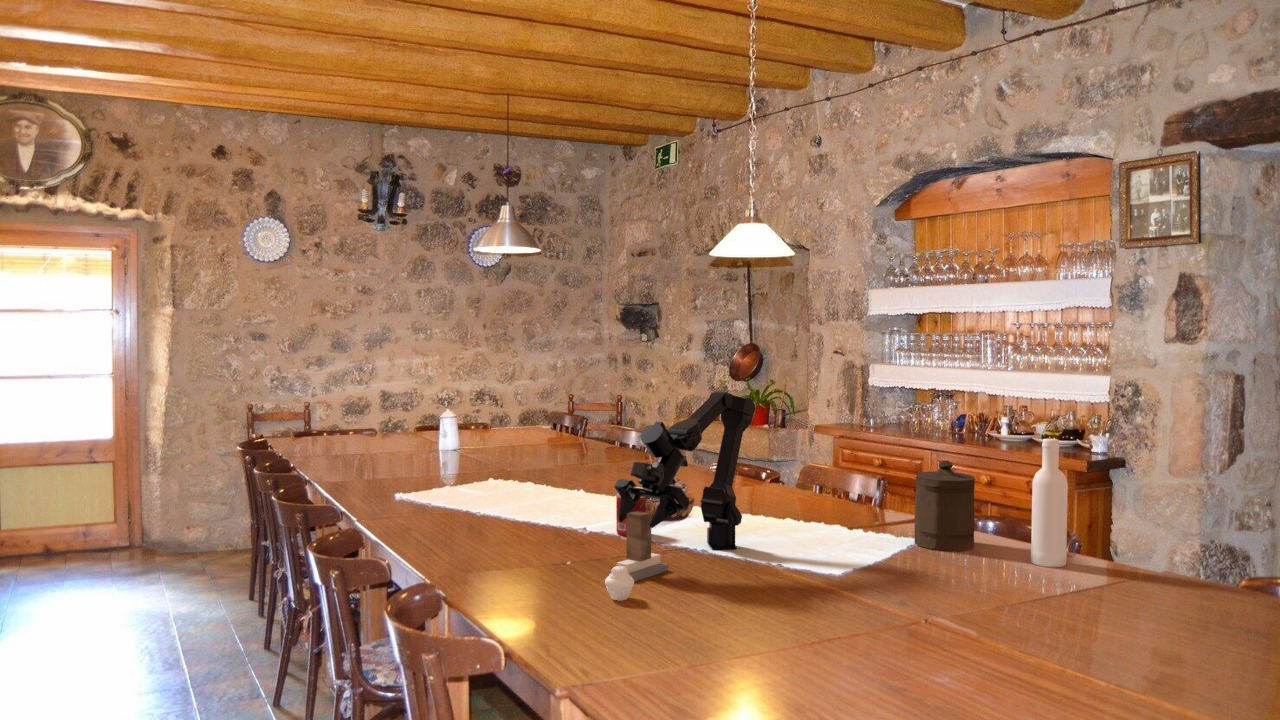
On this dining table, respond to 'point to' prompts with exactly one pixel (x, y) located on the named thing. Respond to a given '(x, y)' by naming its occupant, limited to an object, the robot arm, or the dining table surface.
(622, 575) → the muffin
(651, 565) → the ridge block
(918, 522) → the wooden container
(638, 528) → the tall brown block
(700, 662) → the dining table surface
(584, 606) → the dining table surface
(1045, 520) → the bottle
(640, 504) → the canned food
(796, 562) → the dining table surface
